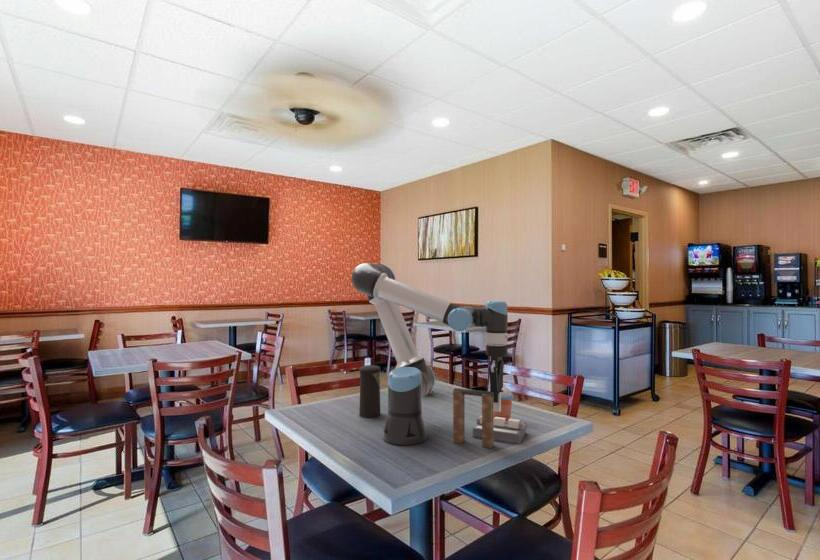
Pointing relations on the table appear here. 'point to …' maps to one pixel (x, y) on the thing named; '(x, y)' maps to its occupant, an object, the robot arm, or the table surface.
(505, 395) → the cup with straw
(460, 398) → the posts
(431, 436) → the table surface
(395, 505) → the table surface
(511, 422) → the breaker paddles
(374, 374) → the container
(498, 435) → the breaker panel
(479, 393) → the dark grey rod
